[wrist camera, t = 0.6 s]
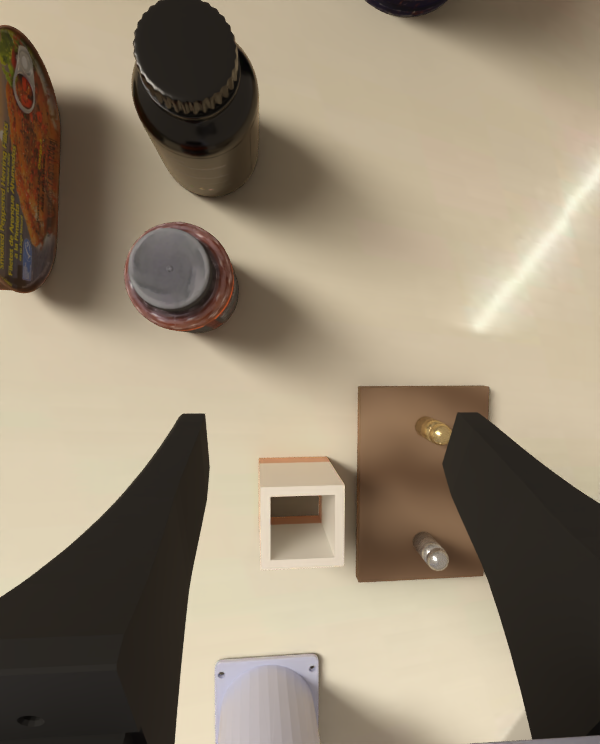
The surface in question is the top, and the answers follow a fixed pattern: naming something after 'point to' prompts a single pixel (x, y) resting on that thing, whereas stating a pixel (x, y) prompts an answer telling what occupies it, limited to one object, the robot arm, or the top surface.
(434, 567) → the steel pin
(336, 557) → the sleeve
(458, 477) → the robot arm
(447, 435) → the brass pin
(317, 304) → the top surface
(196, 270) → the supplement bottle
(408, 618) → the top surface
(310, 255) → the top surface
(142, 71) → the supplement bottle
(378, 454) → the board
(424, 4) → the dark blue cylinder
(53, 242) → the tin
